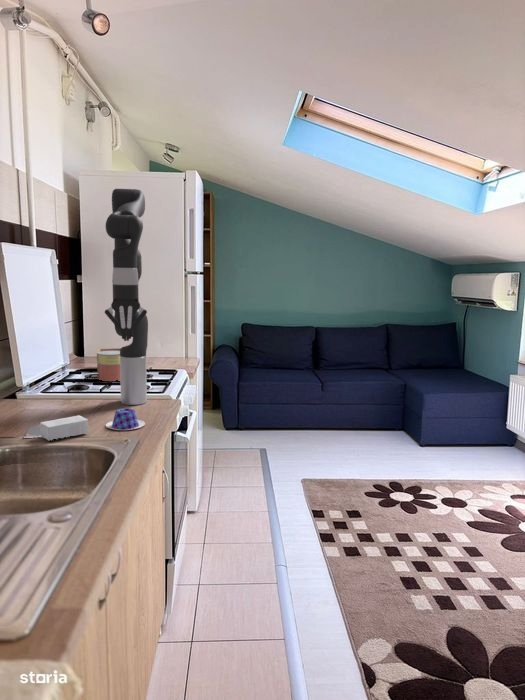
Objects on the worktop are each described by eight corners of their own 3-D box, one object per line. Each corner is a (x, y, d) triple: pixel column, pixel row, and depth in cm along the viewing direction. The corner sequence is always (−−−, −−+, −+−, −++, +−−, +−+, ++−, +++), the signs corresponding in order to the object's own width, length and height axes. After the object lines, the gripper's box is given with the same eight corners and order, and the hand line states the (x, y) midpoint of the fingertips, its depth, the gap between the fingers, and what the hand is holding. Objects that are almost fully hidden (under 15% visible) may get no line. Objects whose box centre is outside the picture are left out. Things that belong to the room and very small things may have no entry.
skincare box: (80, 428, 166) (40, 436, 158) (79, 414, 165) (39, 421, 157) (89, 433, 162) (48, 441, 154) (88, 419, 161) (47, 426, 153)
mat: (29, 428, 166) (29, 427, 166) (77, 426, 169) (77, 425, 169) (23, 438, 156) (23, 437, 156) (74, 436, 160) (74, 435, 160)
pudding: (124, 419, 179) (123, 403, 179) (153, 424, 174) (152, 408, 173) (97, 428, 169) (96, 411, 168) (127, 434, 163) (127, 417, 163)
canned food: (128, 377, 242) (128, 350, 241) (119, 383, 231) (119, 355, 230) (104, 376, 244) (103, 350, 242) (94, 381, 232) (93, 354, 231)
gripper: (147, 283, 169) (148, 338, 172) (103, 282, 166) (104, 339, 169) (148, 284, 162) (149, 342, 165) (101, 283, 159) (103, 342, 162)
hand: (126, 340), depth 167 cm, fingers closed
